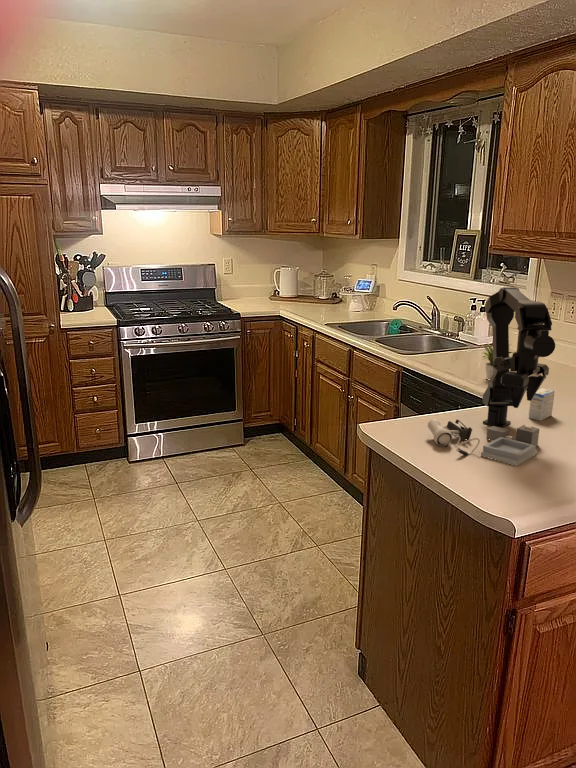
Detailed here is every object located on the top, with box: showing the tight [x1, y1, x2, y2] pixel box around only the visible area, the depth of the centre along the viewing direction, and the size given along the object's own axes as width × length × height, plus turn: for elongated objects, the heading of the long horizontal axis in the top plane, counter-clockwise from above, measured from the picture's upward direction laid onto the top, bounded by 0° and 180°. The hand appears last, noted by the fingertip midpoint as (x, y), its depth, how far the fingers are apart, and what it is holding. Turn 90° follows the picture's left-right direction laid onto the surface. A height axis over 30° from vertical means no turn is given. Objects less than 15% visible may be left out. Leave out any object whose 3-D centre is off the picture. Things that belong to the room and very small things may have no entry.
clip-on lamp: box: [427, 418, 480, 456], centre depth 171 cm, size 12×6×18 cm
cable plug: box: [486, 425, 514, 441], centre depth 174 cm, size 4×7×4 cm, turn 45°
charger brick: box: [515, 424, 540, 447], centre depth 171 cm, size 4×4×6 cm
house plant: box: [481, 342, 515, 379], centre depth 240 cm, size 14×14×16 cm
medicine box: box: [528, 387, 555, 422], centre depth 195 cm, size 8×4×9 cm, turn 134°
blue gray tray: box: [480, 437, 538, 467], centre depth 164 cm, size 12×10×3 cm
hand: (522, 404), depth 168 cm, fingers open, 9 cm apart
